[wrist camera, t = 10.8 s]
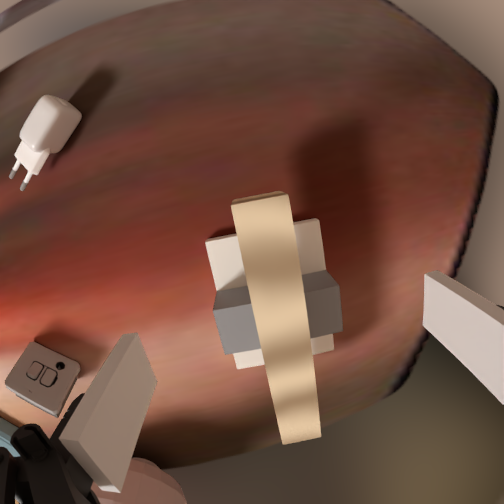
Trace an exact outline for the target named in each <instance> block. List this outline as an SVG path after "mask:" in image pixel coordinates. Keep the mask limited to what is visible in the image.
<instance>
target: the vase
mask: <svg viewBox="0 0 504 504" xmlns="http://www.w3.org/2000/svg"><path fill="white" fill-rule="evenodd" d="M91 489H92V490H93V492H94V493H95V494H96V496H97V498H98V500H99V502H100V504H187V503H186V499H185V497H184V494H183V492H182V489H181V487H180V484H179V483H178V482H177V481H176V480H175V479H174V478H173V477H172V476H170V475H169V474H167V473H165V472H164V471H162V470H161V469H160V468H159V467H158V466H157V465H156V464H154V463H153V462H151V461H149V460H146V459H143V458H136V457H134V458H131V461H130V465H129V468H128V471H127V474H126V477H125V481H124V484H123V487H122V491H121V493H117V492H110V491H103V490H101V489H100V488H99V487H98V486H97V484H96V483H95V482H94V481H93V484H92V486H91Z"/></svg>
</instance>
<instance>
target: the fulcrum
mask: <svg viewBox="0 0 504 504" xmlns="http://www.w3.org/2000/svg"><path fill="white" fill-rule="evenodd" d="M293 225H294V231H295V237H296V243H297V249H298V255H299V262H300V268H301V275H302V281H303V288H304V295H305V302H306V309H307V316H308V324H309V331H310V339H311V347H312V355H314V354H319V353H323V352H327V351H331V350H334V342H333V333H337V332H341V331H343V322H342V309H341V298H340V288H339V285H338V283H337V282H336V281H335V280H334V279H333V277H332V276H331V275H330V274H329V273H328V272H327V270H326V266H325V258H324V251H323V243H322V236H321V229H320V223H319V220H318V219H316V218H314V219H308V220H303V221H298V222H293ZM205 243H206V248H207V252H208V256H209V260H210V265H211V269H212V273H213V277H214V281H215V285H216V289H217V293H216V298H215V303H214V308H213V313H214V317H215V320H216V324H217V328H218V331H219V335H220V339H221V342H222V346H223V349H224V353H225V355H226V354H233V355H234V359H235V362H236V366H237V369H242V368H248V367H254V366H259V365H265V363H264V359H263V354H262V350H261V345H260V340H259V336H258V331H257V327H256V322H255V317H254V313H253V308H252V304H251V299H250V294H249V290H248V285H247V280H246V275H245V271H244V266H243V261H242V256H241V252H240V247H239V242H238V237H237V233H236V234H231V235H226V236H221V237H216V238H211V239H207V240H206V242H205Z"/></svg>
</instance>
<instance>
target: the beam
mask: <svg viewBox="0 0 504 504" xmlns="http://www.w3.org/2000/svg"><path fill="white" fill-rule="evenodd" d="M231 208H232V213H233V218H234V223H235V228H236V233H237V237H238V242H239V247H240V252H241V256H242V261H243V266H244V271H245V275H246V280H247V285H248V290H249V294H250V299H251V304H252V308H253V313H254V317H255V322H256V327H257V331H258V336H259V340H260V345H261V350H262V354H263V359H264V363H265V368H266V372H267V377H268V381H269V386H270V390H271V395H272V399H273V404H274V408H275V413H276V417H277V421H278V426H279V430H280V435H281V439H282V443H283V444H289V443H294V442H299V441H304V440H309V439H313V438H318V437H321V430H320V419H319V409H318V399H317V390H316V381H315V372H314V363H313V355H312V347H311V339H310V331H309V324H308V316H307V309H306V302H305V295H304V288H303V281H302V275H301V268H300V262H299V255H298V249H297V243H296V237H295V231H294V225H293V219H292V213H291V208H290V202H289V197H288V194H286V193H283V192H281V191H276V192H271V193H266V194H260V195H255V196H250V197H245V198H240V199H235V200H233V201H232V204H231Z"/></svg>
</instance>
